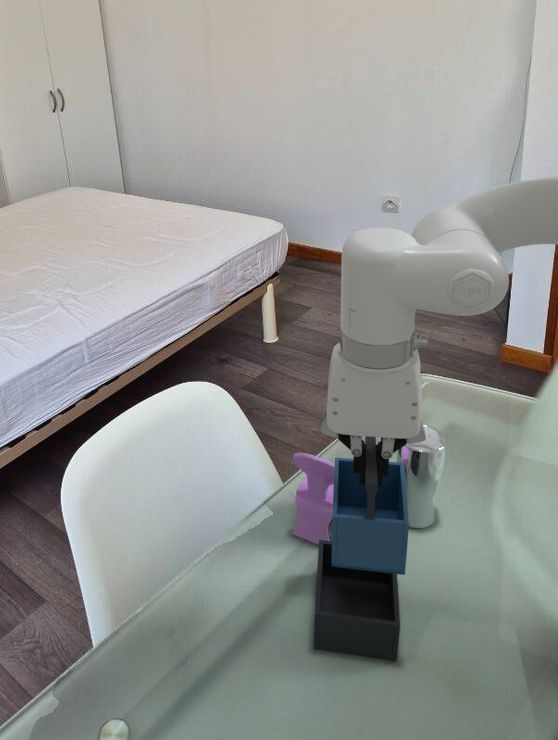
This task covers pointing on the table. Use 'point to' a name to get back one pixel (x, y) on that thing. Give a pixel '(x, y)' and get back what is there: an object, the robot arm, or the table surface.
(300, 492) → the toy chair
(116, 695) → the table surface
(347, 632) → the charcoal bin
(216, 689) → the table surface
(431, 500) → the beer glass
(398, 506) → the blue bin
